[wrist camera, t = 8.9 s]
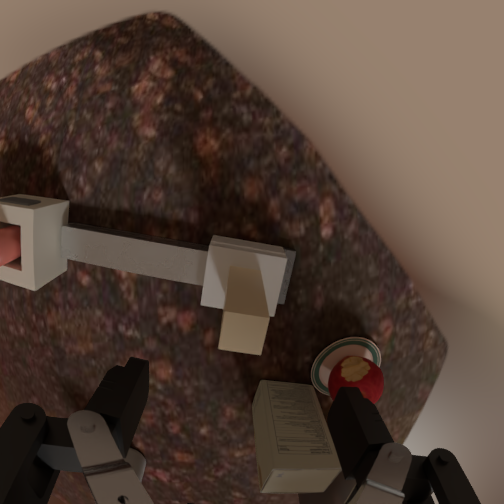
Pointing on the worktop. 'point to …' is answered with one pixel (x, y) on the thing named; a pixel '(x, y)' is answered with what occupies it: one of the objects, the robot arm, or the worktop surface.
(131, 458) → the beverage can
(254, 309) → the carriage
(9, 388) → the worktop surface
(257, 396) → the skincare box
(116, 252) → the rail
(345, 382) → the apple
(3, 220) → the cream square box
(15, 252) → the button
